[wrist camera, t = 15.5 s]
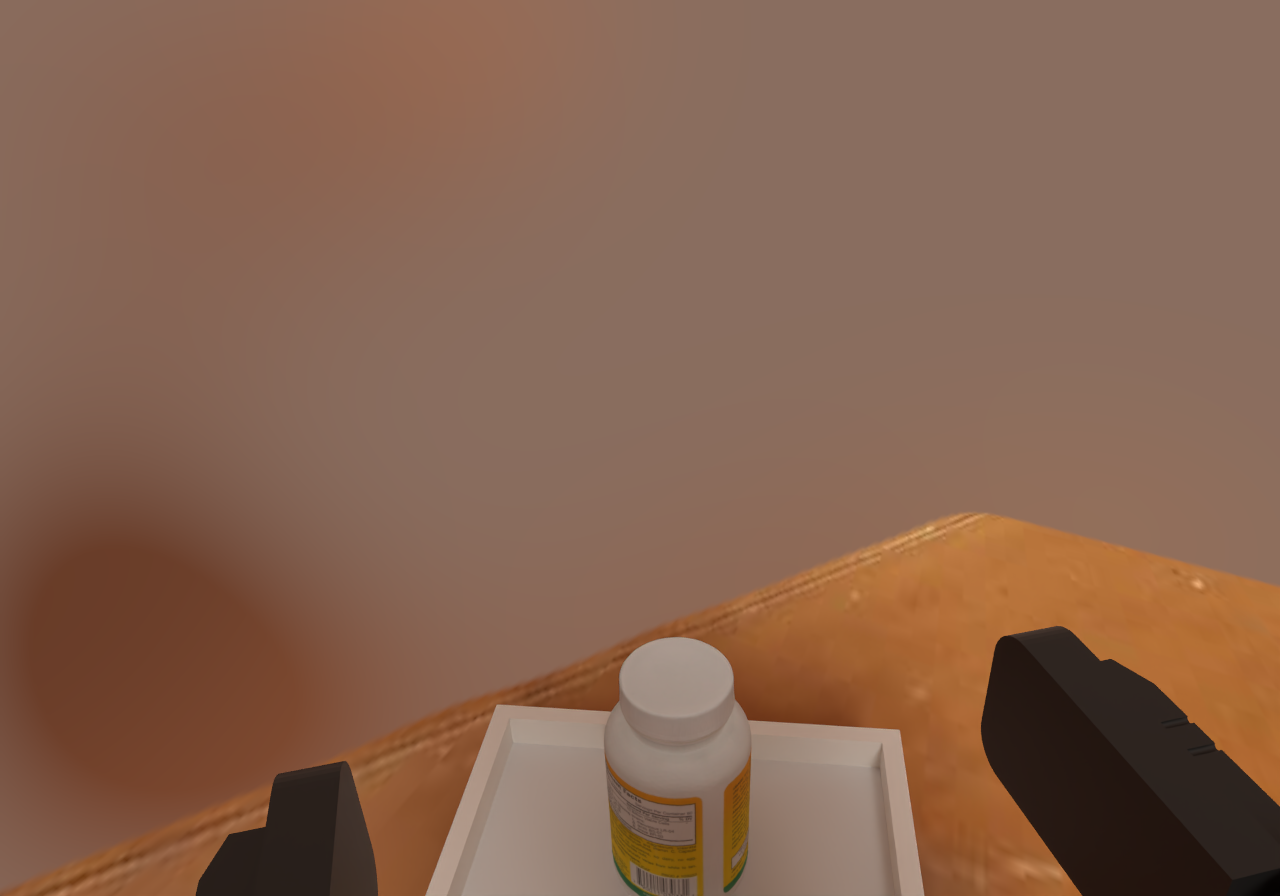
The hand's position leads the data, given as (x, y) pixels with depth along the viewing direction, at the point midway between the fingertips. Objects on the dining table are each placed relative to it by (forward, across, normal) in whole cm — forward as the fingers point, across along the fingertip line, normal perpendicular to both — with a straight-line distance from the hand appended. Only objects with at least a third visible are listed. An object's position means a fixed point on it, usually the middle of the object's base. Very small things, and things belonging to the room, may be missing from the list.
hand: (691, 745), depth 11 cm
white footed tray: (+16, -4, +28) cm, 32 cm away
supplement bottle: (+16, -4, +23) cm, 28 cm away
